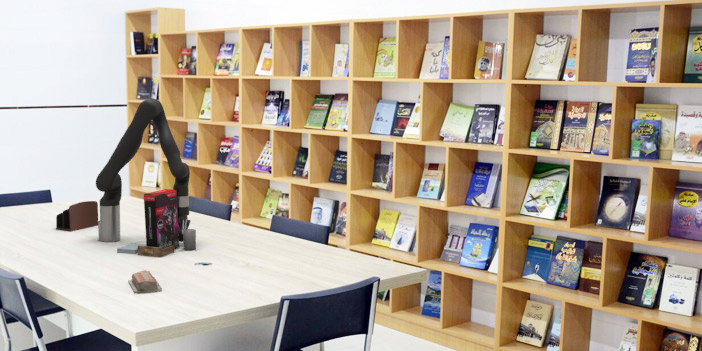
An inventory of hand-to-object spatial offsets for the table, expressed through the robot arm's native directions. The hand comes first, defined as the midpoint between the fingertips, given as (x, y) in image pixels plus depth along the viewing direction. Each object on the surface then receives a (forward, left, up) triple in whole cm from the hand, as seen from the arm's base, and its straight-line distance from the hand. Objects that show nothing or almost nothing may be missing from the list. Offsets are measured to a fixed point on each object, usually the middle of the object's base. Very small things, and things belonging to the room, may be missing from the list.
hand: (181, 241), depth 361 cm
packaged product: (+27, -70, -2) cm, 75 cm away
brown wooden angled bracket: (0, -20, -2) cm, 20 cm away
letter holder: (-71, +15, -2) cm, 73 cm away
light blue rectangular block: (-13, -20, -2) cm, 24 cm away
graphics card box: (-1, -15, -2) cm, 15 cm away
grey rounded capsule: (+9, -7, -2) cm, 11 cm away
